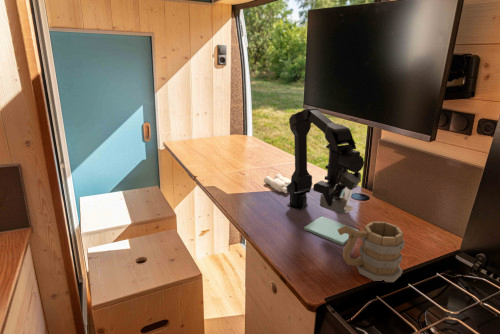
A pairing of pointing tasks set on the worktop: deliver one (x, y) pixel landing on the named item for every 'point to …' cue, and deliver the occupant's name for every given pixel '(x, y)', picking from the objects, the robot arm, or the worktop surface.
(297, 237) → the worktop surface
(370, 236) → the tankard
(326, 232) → the mat
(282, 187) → the binoculars
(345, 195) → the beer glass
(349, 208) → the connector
